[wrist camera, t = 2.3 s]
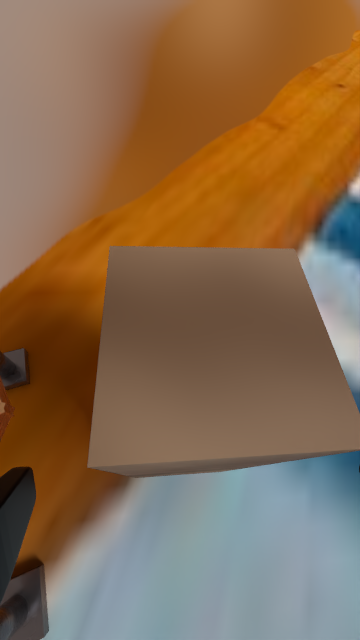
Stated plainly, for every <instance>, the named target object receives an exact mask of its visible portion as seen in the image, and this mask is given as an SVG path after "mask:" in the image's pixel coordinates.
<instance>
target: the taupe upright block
mask: <svg viewBox="0 0 360 640" xmlns="http://www.w3.org/2000/svg"><path fill="white" fill-rule="evenodd" d="M359 450H360V413H359V411H358V408H357V406H356V403H355V401H354V398H353V396H352V393H351V391H350V388H349V386H348V383H347V381H346V378H345V375H344V373H343V370H342V368H341V365H340V363H339V360H338V358H337V355H336V353H335V350H334V348H333V345H332V343H331V340H330V338H329V335H328V332H327V330H326V327H325V325H324V322H323V320H322V317H321V315H320V312H319V310H318V307H317V305H316V302H315V300H314V297H313V295H312V292H311V289H310V287H309V284H308V282H307V279H306V277H305V274H304V272H303V269H302V267H301V264H300V262H299V259H298V257H297V254H296V252H295V249H266V248H201V247H136V246H110V250H109V260H108V269H107V279H106V289H105V299H104V309H103V318H102V328H101V338H100V348H99V357H98V367H97V377H96V387H95V397H94V406H93V416H92V426H91V436H90V446H89V455H88V465H87V467H88V468H93V469H98V470H102V471H107V472H112V473H116V474H121V475H126V476H130V477H135V478H139V477H153V476H167V475H181V474H195V473H210V472H222V471H229V470H235V469H242V468H248V467H255V466H261V465H268V464H274V463H281V462H287V461H294V460H300V459H307V458H314V457H320V456H327V455H333V454H340V453H346V452H353V451H359Z"/></svg>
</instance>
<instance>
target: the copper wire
mask: <svg viewBox="0 0 360 640" xmlns="http://www.w3.org/2000/svg"><path fill="white" fill-rule="evenodd" d="M26 384H30V378H29V365H28V352H27V351H26V350H25V349H24V348H22V349H18V350H14V351H10V352H6V353H2V352H1V351H0V441H1V439H2V437H3V434H4V432H5V430H6V428H7V425H8V423H9V421H10V418H12V417H14V413H13V412H14V409H15V408H14V407H12V406H11V405H10V402H9V399H8V396H7V393H6V391H5V390H9V389H12V388H16V387H19V386H23V385H26ZM48 631H49V626H48V613H47V600H46V587H45V574H44V564H43V565H41V566H39V567H37V568H34V569H32V570H30V571H28V572H25V573H23V574H21V575H18V576H16V577H14V578H12V579H10V581H9V584H8V587H7V589H6V592H5V594H4V597H3V599H2V602H1V604H0V640H40V639H42V638H44V637H45V635H46V634H47V633H48Z"/></svg>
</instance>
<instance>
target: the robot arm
mask: <svg viewBox="0 0 360 640" xmlns="http://www.w3.org/2000/svg"><path fill="white" fill-rule="evenodd" d="M359 472H360V466H359ZM35 500H36V489H35V482H34V475H33V470H32V468H31V467H15V468H12V469H11V470H9V471H8V472H7V473H5V474H4V475H3V476H1V477H0V604H1V602H2V599H3V597H4V594H5V592H6V589H7V587H8V584H9V581H10V579H11V576H12V573H13V570H14V567H15V564H16V561H17V558H18V555H19V551H20V548H21V545H22V542H23V539H24V536H25V533H26V529H27V526H28V523H29V520H30V517H31V514H32V511H33V507H34V504H35Z"/></svg>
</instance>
